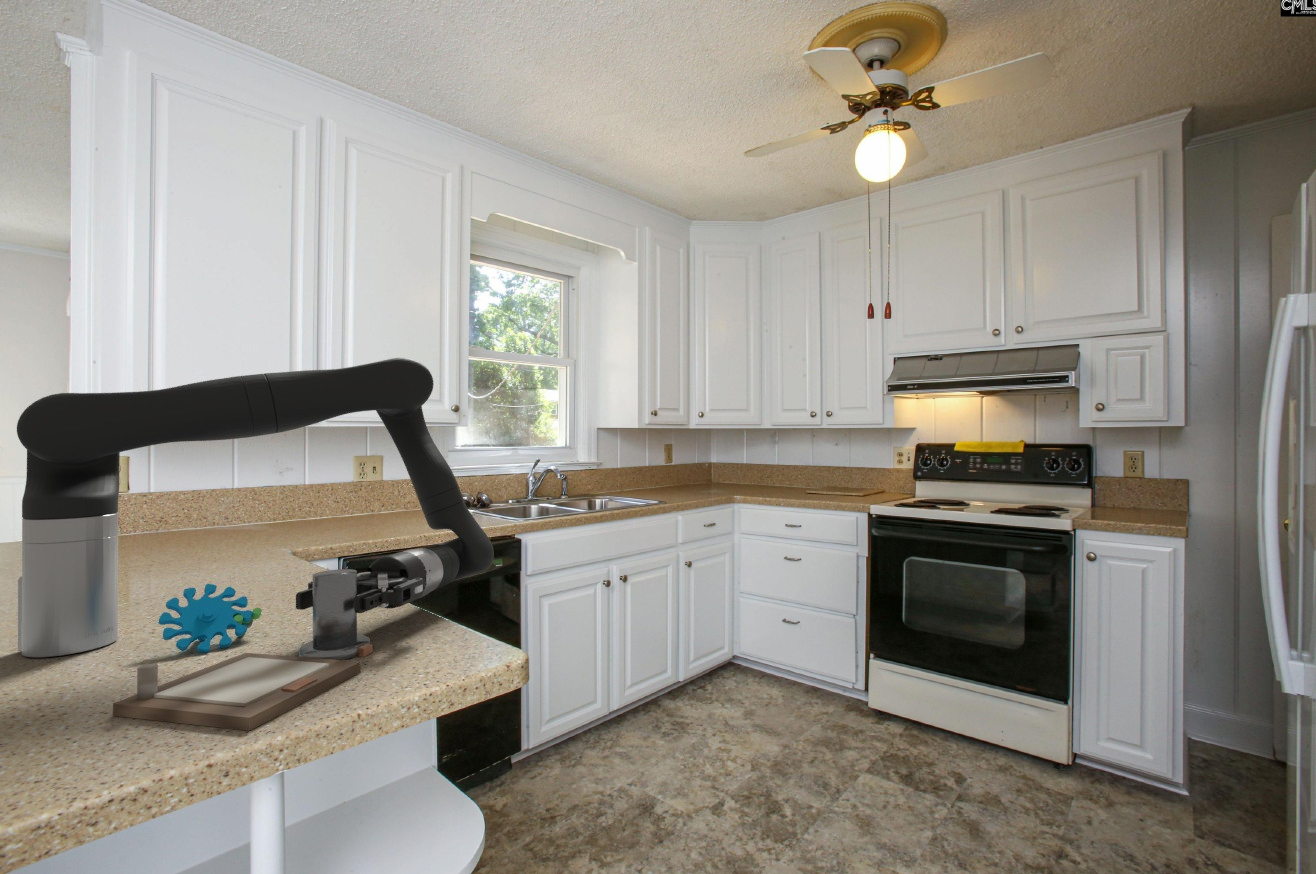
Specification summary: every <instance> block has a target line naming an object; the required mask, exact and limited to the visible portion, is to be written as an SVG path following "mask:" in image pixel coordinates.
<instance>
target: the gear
mask: <svg viewBox="0 0 1316 874" xmlns="http://www.w3.org/2000/svg"><path fill="white" fill-rule="evenodd" d="M217 587H218V586H217V585H216V584H212V583H207V584H205V586H204V590H203V591H204V594H203V595H202V596H201V597H200V598H199V599H194V597H195V596H196V593H197V589H196V587H189V588H184V590H183V593H182V596H183V597H184V598H185V600H186V601H187V605H186V606H180V599H179V598H178V597H171V599H168V600H167V601H166V603H165V607H166V608H167V609H168V610H171V611H175V612H176V613H177V614H178V615H179V617H174V616H172V614H171V613H170V612H168V611H167V612H166V611H165V612H162V613H161V614H160V616H159V618H158V624H159V625H161V626H164V625H175V626H178V627H180V628H177V629H176V628H173V627H165V628H164V629H163V632H162V637H163V640H164V641H169V640H172V639H173V638H176V637H179V636H186V635H187V636H190V637H183V638H179V639H178V640H177V641H176V644H175V647H176V648H177V649H178V650H180V651H182V652H184V651H186V650H188V649H189V647H190V645H191V644H193V643H194V642H196V641H199V642H200V643H199V644H198V645H197V649H196V652H197V653H202V654H206V653H209V652H210V649H211V642H212V640H213V639H214V638H215V637H216V636H221V638H220V639H219V643H218V647H219V648H228V647H230V646H231V644H232V643H233V639H232V637H230V636H229V634H228V632H227V630H234V636H236V637H238V638H240V637H242V636H245V635H246V633H247V632H248V629H250V628H251V627H252V625H253V623H254V621H255V620H259V619H260V617H261V615H262V611H263V609H262V608H260V607H255V608H253V610H250V609H248V610H238V609H235V608H233V607H238V608H241V609H243V608H247V606H248V603H249V600H248V597H247V596H240V597H239V598H237V599H233V600H224V599H230V598H233V597H235V595H236V593H237V592H236V591H237V590H235V589H234V588H233V587H232V586H228V587H225V589H224V590H223V592H222V593H220V594H218V595H217V596H213V597H211V596H210V595H213V594H215V593H216V591H217Z"/></svg>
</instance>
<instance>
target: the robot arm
mask: <svg viewBox="0 0 1316 874" xmlns="http://www.w3.org/2000/svg"><path fill="white" fill-rule="evenodd" d="M433 389H434V378H433V376H432V373H431V371H430V370H429V369H428V367H427V366H426V365H424V364H423V363H421V362H420V361H417V360H415V359H411V358H409V357H392V358H389V359H388V358H387V359H384V360H379V361H374V362H369V363H365V364H360V365H355V366H354V365H353V366H347V367H343V368H342V367H341V368H332V369H331V368H330V369H329V368H328V369H309V370H295V371H293V370H292V371H282V372H281V371H280V372H267V373H256V374H255V373H254V374H247V375H246V374H245V375H237V376H231V377H230V376H228V377H224V378H216V379H210V380H208V379H207V380H205V381H204V380H203V381H197V382H194V383H187V384H184V385H178V386H173V387H167V388H162V389H161V388H160V389H155V390H154V389H153V390H152V389H151V390H147V391H146V390H143V391H142V390H141V391H123V392H84V393H83V392H60V393H54V394H50V395H46V396H43V397H41V398H39V399H37V400H36V401H34V402H32V403H31V404H30V405H28V406H27V407H26V408H25V409H24V411H22V413H21V414H20V416H19V417H18V420H17V423H16V435H17V437H18V440H19V441H20V442H19V443H21V445H22V446H23V447H24V449H26V480H25V485H24V486H25V487H24V493H23V496H22V500H21V501H22V502H21V545H22V547H21V548H22V549H21V555H22V557H21V562H22V563H21V576H20V577H19V578H18V579H17V652H21V655H22V656H23V657H26V658H27V657H28V658H49V657H50V658H51V657H57V656H58V657H59V656H65V655H66V656H67V655H71V654H77V653H82V652H86V651H92V650H95V649H99V648H101V647H105V646H107V645H110V644H112V643H114V642H116V641H117V640H118V638H119V637H118V635H119V632H118V631H119V630H118V628H119V623H118V622H119V513H118V512H119V496H120V495H119V494H120V464H121V463H120V455H121V453H122V452H123V453H124V452H126V451H131V450H135V449H140V448H141V449H142V448H145V447H146V448H147V447H150V446H155V445H161V444H168V443H179V442H180V443H181V442H207V441H208V442H211V441H224V440H234V439H235V440H237V439H246V438H247V439H248V438H253V437H259V436H267V435H272V434H273V435H274V434H278V433H279V434H280V433H284V432H288V431H293V430H297V429H300V428H301V429H302V428H305V427H308V426H311V425H314V424H319V423H321V422H324V421H327V420H330V419H334V418H336V417H340V416H344V415H347V414H353V413H354V414H355V413H358V412H359V413H361V412H369V411H370V412H371V411H376V413H377V415H378V416H379V418H380V420H381V422H382V423H383V425H384V426H385V428H386V429H387V431H388V433H389V435H390V437H391V439H392V442H393V443H394V445H395V446H396V449H397V451H398V453H399V455H400V457H401V460H402V462H403V464H404V467H405V469H406V471H407V474H408V476H409V479H410V481H411V483H412V486H413V489H414V492H415V494H416V497H417V500H418V502H419V505H420V508H421V510H422V513H423V515H424V518H425V521H426V523H427V525H428V526H429V528H430V529H431V530H449V531H452V532H453V534H455V535H456V536H457V537H456V538H453V539H451V540H450V539H449V540H447V541H444V542H441V543H438V544H432V545H427V546H424V547H420V548H411V549H407V550H404V551H399V552H396V553H393V554H392V553H391V554H389V555H388V554H387V555H385V556H382V557H379V558H377V559H376V560H374V561H373V562H371V564H370V565H369V567H368V568H367V570H366V571H364V572H359V573H358V572H357V595H356V596H355V598H354V611H355V613H357V614H364V613H365V612H368V611H371V610H374V609H376V608H383V609H387V610H388V609H389V610H390V609H391V610H392V609H395V608H400V607H402V606H405V605H407V604H409V603H411V602H413V601H416V600H418V599H421V598H423V597H425V596H426V595H428V594H429V593H431V592H433V591H435V590H438V589H440V588H443V587H445V586H446V585H448V584H450V583H451V582H454V581H455V582H456V581H457V580H461V579H464V578H468V577H470V576H474V575H476V574H479V573H482V572H485V571H488V570H489V568H491V567H492V564H493V563H494V557H495V554H494V553H495V551H494V547H493V544H492V541H491V539H490V538H489V537H488V535H487V533H486V532H485V531H484V530H483V528H482V526H481V525H480V524H479V523H478V522H477V520H476V519H475V517H474V515H472V513H471V512H470V510H469V508H468V507H467V504H466V502H465V501H464V497H463V494H462V492H461V488H460V486H459V484H458V481H457V479H456V476H455V474H454V472H453V470H452V469H451V467H450V465H449V464H448V462H447V460H446V459H445V458H444V456H443V454H442V453H441V451H440V450H439V448H438V447H437V445H436V444H435V442H434V440H433V437H432V436H431V434H430V431H429V429H428V426H427V423H426V420H425V417H424V411H423V405H424V404H426V403H427V401H428V400H429V398H430V396H431V395H432V393H433ZM309 608H313V580H312V581H310V582H308V583H307V589H305V590H301V591H298V592H297V593H296V594H295V609H296V610H297V611H298V610H302V611H303V610H307V609H309Z"/></svg>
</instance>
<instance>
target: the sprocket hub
mask: <svg viewBox="0 0 1316 874" xmlns="http://www.w3.org/2000/svg"><path fill="white" fill-rule="evenodd" d="M357 574H358V571H357V570H356V569H351V568H350V569H349V568H346V569H343V568H340V569H329V570H322V571H319V572H315V573H314V574H312V581H313V607H312V640H311V641H308V642H306V643H304V644H302V645H301V646H300V647H299V648H298V657H307V658H320V659H333V660H346V661H348V660H350V659H353V658H356V657H363V658H364V657H366V656H368V655H370V654H372V653H373V651H374V649H373V643H371V639H370V638H369V636H367V635H362V634H358V613H355V611H354V598H355V596H356V595H357Z"/></svg>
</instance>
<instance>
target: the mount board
mask: <svg viewBox="0 0 1316 874" xmlns="http://www.w3.org/2000/svg"><path fill="white" fill-rule="evenodd" d="M361 663H362V662H361V661H358V660H357V661H354V660H333V659H320V658H307V657H299V656H292V655H281V654H280V655H278V654H265V653H255V652H254V653H252V652H244V653H241V654H239V655H236V656H233V657H231V658H228V659H225V660H223V661H220V662H217V663H215V664H212V665H210V666H207V667H204V668H202V669H200V670H196V671H194V672H191V673H189V674H186V675H184V676H181V677H179V678H178V677H177V678H176V679H173V680H171V681H168V682H165V683H163V684H160V685H159V679H158V678H159V675H158V674H159V672H158V670H159V665H158V663H149V664H143V665H140V666H138V667H137V668H136V689H137V690H136V694H134V695H131V696H129V697H125V698H124V699H120V700H119V701H115V702H113V703H112V717H122V718H130V719H139V720H146V721H147V720H149V721H157V722H159V721H160V722H167V723H175V724H183V725H184V724H185V725H193V726H201V727H210V728H211V727H213V728H222V729H231V730H238V731H239V730H240V731H248V732H251V730H254V729H256V728H257V727H260V726H262V725H264V724H265V723H267V722H269V721H270V720H273V719H274V718H276V717H278V716H281V715H282V714H284V713H286V712H287V711H289V710H292V709H294V708H295V707H297V706H299V705H302V704H303V703H304V702H307V701H309V700H311V699H312V698H315V697H316V696H318V695H321V694H322V693H325V692H326V691H327V690H330V689H332V688H333V687H335V686H337V685H339V684H340V683H342V682H345V681H346V680H349V679H351V678H353V677H354V676H355V675H357V674H360V673H361V671H362V669H361V668H362V667H361V666H362V665H361Z"/></svg>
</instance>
